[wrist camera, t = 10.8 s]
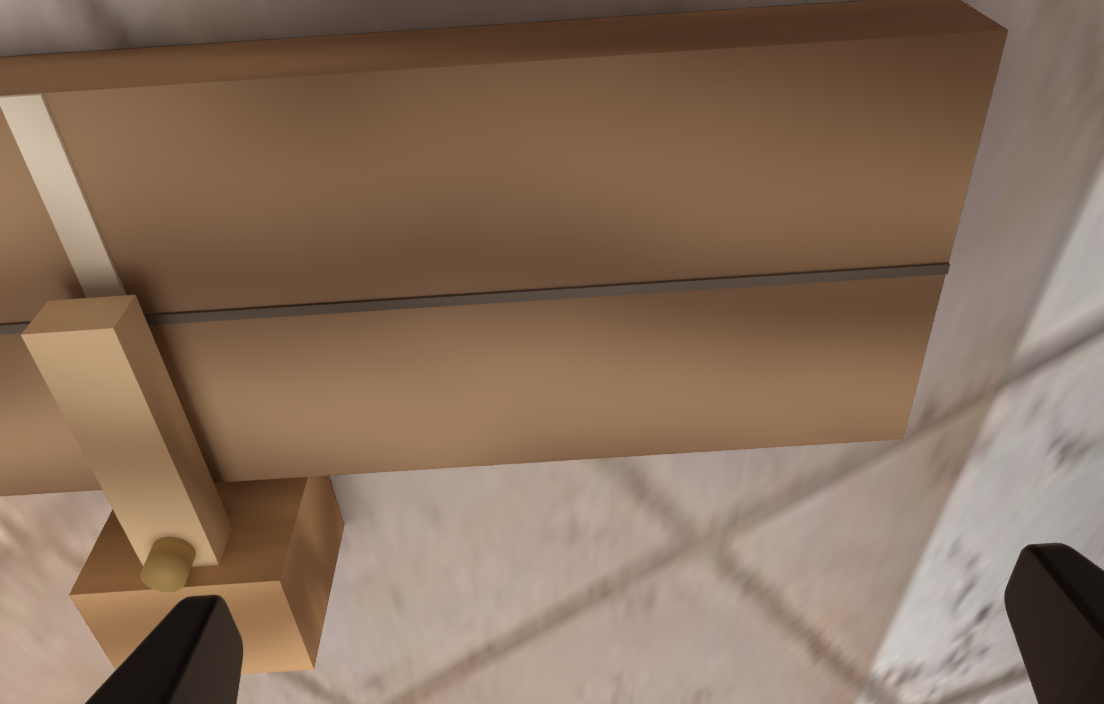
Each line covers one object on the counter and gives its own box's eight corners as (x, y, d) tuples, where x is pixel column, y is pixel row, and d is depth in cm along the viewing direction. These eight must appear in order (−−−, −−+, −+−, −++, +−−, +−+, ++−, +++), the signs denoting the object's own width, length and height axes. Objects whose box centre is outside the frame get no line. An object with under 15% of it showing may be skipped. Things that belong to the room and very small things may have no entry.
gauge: (344, 524, 26) (312, 676, 22) (182, 535, 26) (120, 689, 22) (252, 215, 20) (183, 346, 16) (39, 231, 20) (-85, 365, 16)
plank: (869, 377, 23) (904, 441, 21) (-72, 437, 24) (-129, 507, 21) (951, -5, 17) (1010, 31, 15) (-309, 77, 18) (-420, 125, 16)
